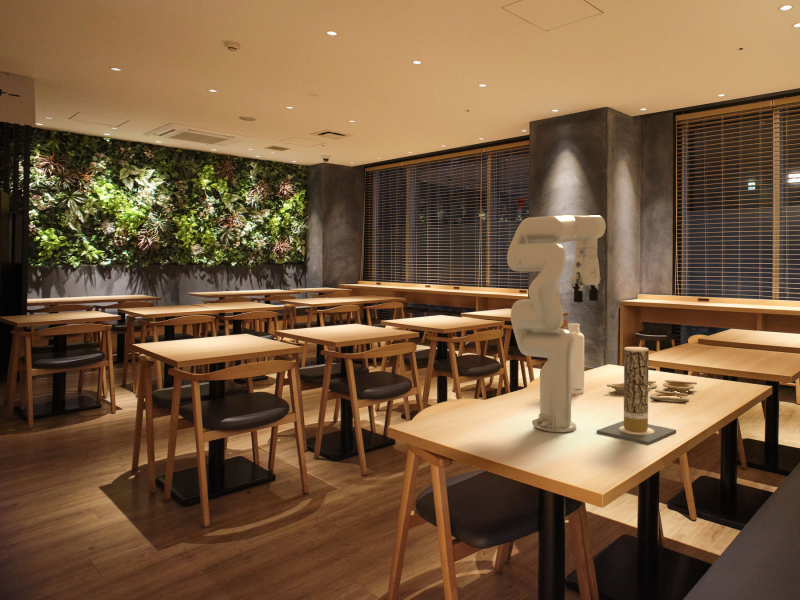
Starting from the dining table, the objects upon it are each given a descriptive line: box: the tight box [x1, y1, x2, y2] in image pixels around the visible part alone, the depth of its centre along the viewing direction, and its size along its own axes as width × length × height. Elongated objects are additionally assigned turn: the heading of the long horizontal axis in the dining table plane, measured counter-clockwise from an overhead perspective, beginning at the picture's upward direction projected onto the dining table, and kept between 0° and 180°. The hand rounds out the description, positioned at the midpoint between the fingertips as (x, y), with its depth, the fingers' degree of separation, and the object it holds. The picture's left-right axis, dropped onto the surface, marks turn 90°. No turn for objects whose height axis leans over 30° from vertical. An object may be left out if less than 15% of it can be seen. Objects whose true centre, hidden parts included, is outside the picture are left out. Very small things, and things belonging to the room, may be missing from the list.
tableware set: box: [606, 379, 698, 403], centre depth 228 cm, size 35×29×4 cm
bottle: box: [567, 322, 585, 395], centre depth 229 cm, size 8×8×28 cm
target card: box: [596, 420, 677, 445], centre depth 172 cm, size 18×16×1 cm
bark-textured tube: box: [623, 346, 650, 432], centre depth 171 cm, size 7×7×25 cm
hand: (586, 301), depth 201 cm, fingers open, 9 cm apart
